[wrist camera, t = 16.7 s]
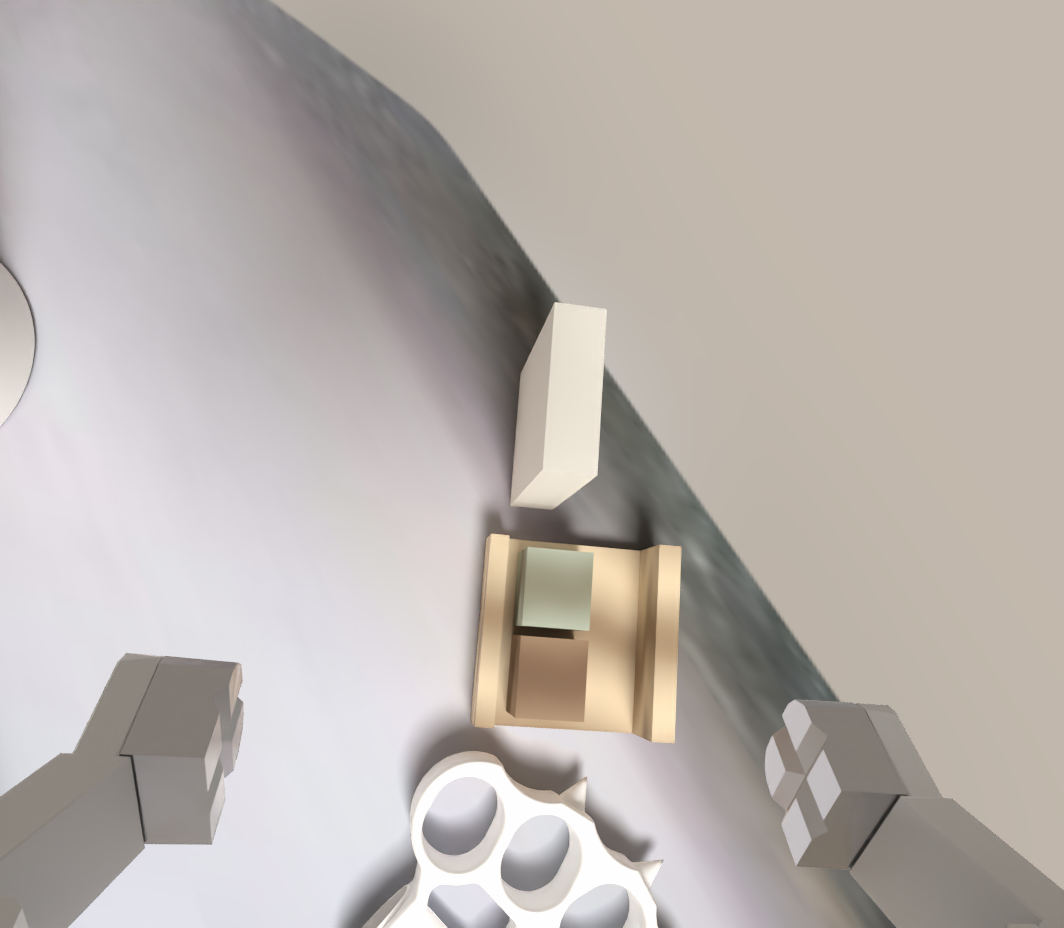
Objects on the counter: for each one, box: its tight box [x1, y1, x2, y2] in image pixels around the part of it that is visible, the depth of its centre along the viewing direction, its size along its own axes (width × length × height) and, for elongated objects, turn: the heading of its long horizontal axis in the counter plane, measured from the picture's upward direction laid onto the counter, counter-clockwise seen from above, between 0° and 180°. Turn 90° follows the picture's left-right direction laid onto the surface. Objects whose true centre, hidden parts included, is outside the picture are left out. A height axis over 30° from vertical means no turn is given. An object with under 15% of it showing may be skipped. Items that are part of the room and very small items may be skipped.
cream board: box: [510, 302, 607, 510], centre depth 42 cm, size 8×2×11 cm, turn 176°
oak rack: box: [471, 534, 681, 743], centre depth 43 cm, size 10×10×4 cm
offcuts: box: [506, 547, 594, 722], centre depth 43 cm, size 8×4×4 cm, turn 176°
